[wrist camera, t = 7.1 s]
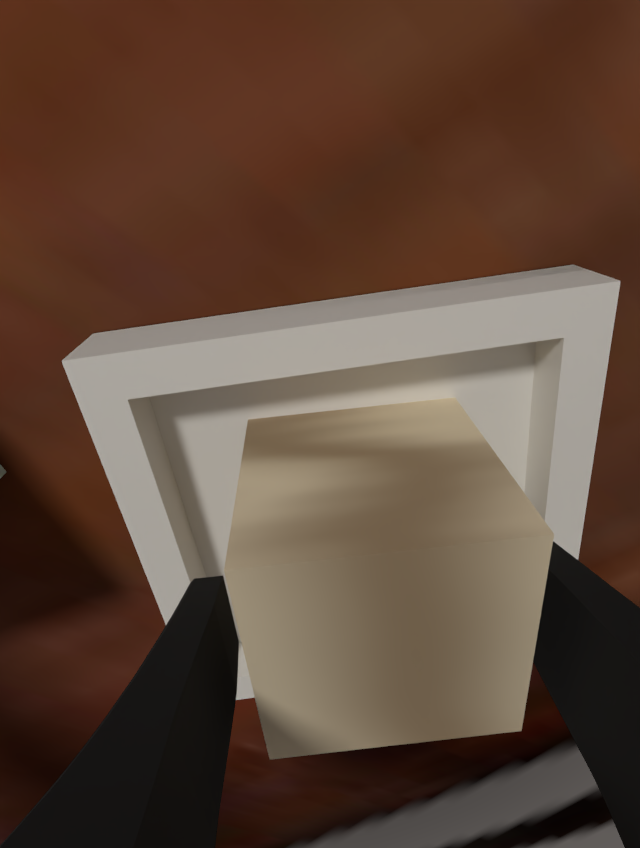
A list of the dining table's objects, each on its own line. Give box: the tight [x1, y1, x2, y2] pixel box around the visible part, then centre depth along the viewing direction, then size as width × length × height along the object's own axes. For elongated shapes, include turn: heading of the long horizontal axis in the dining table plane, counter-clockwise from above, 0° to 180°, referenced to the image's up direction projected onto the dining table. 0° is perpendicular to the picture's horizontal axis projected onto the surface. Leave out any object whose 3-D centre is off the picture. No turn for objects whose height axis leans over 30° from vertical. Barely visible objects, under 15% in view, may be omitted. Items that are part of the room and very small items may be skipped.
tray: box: [62, 265, 620, 700], centre depth 13 cm, size 11×11×2 cm
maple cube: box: [224, 397, 554, 759], centre depth 11 cm, size 5×5×5 cm
